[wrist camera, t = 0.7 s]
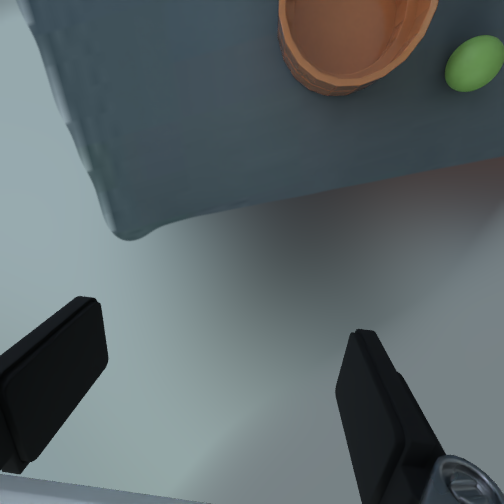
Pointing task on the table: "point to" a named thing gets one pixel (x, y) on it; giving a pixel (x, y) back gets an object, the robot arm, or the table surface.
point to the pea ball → (474, 63)
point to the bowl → (349, 40)
